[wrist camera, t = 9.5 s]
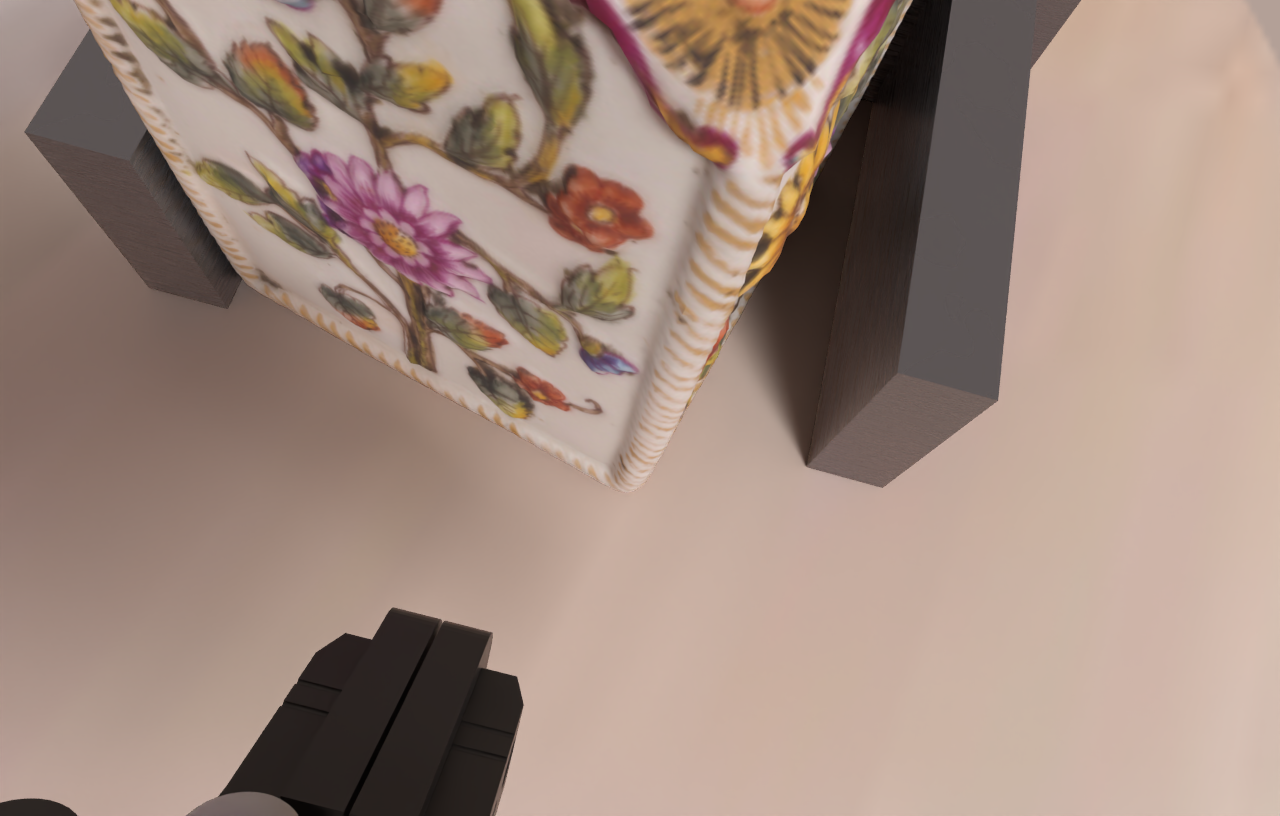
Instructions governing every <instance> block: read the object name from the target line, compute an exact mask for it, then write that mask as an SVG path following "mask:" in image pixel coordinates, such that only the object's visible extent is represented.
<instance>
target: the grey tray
mask: <svg viewBox="0 0 1280 816" xmlns="http://www.w3.org/2000/svg"><path fill="white" fill-rule="evenodd" d="M1080 1H1081V0H913V1H912V3H911V5H910V6H909V8H908V10H907V11H906V13H905V15H904V17H903V19H902V22H901V23H900V25H899V26H898V28H897V30H896V33H895V35H894V37H893V39H892V40H891V42H890V44H889V46H888V49H887V51H886V52H885V54H884V56H883V58H882V60H881V61H880V63H879V65H878V67H877V69H876V71H875V74H874V75H873V77H872V78H871V79H870V82H869V85H868V87H867V88H866V90H865V92H864V94H863V96H862V99H865V100H869V101H872V102H873V105H872V110H871V116H870V121H869V127H868V132H867V138H866V143H865V149H864V154H863V160H862V165H861V171H860V176H859V182H858V187H857V193H856V198H855V204H854V209H853V215H852V220H851V226H850V231H849V237H848V242H847V248H846V253H845V259H844V264H843V270H842V275H841V281H840V286H839V292H838V297H837V303H836V308H835V314H834V319H833V325H832V330H831V336H830V341H829V347H828V352H827V358H826V363H825V369H824V374H823V380H822V385H821V391H820V396H819V402H818V407H817V413H816V418H815V424H814V429H813V435H812V440H811V446H810V451H809V457H808V462H807V467H809V468H813V469H816V470H820V471H824V472H827V473H831V474H835V475H838V476H842V477H846V478H849V479H853V480H857V481H860V482H864V483H868V484H871V485H875V486H879V487H882V488H883V487H884V486H886V485H887V484H888V483H890V482H891V481H892V480H893V479H895V478H896V477H897V476H899V475H900V474H901V473H903V472H904V471H905V470H907V469H908V468H909V467H911V466H912V465H913V464H915V463H916V462H917V461H919V460H920V459H921V458H923V457H924V456H925V455H927V454H928V453H929V452H931V451H932V450H933V449H934V448H936V447H937V446H938V445H940V444H941V443H942V442H944V441H945V440H946V439H948V438H949V437H950V436H952V435H953V434H954V433H956V432H957V431H958V430H960V429H961V428H962V427H964V426H965V425H966V424H968V423H969V422H970V421H972V420H973V419H974V418H975V417H977V416H978V415H979V414H981V413H982V412H983V411H985V410H986V409H987V408H989V407H990V406H991V405H993V404H994V403H995V402H997V401H998V395H999V385H1000V375H1001V364H1002V354H1003V344H1004V334H1005V323H1006V313H1007V303H1008V293H1009V282H1010V272H1011V262H1012V252H1013V242H1014V231H1015V221H1016V211H1017V201H1018V190H1019V180H1020V170H1021V160H1022V149H1023V139H1024V129H1025V119H1026V109H1027V98H1028V88H1029V78H1030V69H1031V68H1032V67H1033V65H1034V64H1035V62H1036V61H1037V60H1038V58H1039V57H1040V56H1041V54H1042V53H1043V52H1044V50H1045V49H1046V47H1047V46H1048V45H1049V43H1050V42H1051V41H1052V39H1053V38H1054V37H1055V35H1056V34H1057V32H1058V31H1059V30H1060V28H1061V27H1062V26H1063V24H1064V23H1065V22H1066V20H1067V19H1068V17H1069V16H1070V15H1071V13H1072V12H1073V11H1074V9H1075V8H1076V7H1077V5H1078V4H1079V2H1080ZM25 133H26V135H27V136H28V137H29V138H30V140H31V141H32V142H33V143H34V144H35V146H36V147H37V148H38V149H39V151H40V152H41V153H42V154H43V156H44V157H45V158H46V159H47V161H48V162H49V163H50V164H51V166H52V167H53V168H54V169H55V171H56V172H57V173H58V174H59V176H60V177H61V178H62V179H63V181H64V182H65V183H66V184H67V186H68V187H69V188H70V189H71V191H72V192H73V193H74V194H75V196H76V197H77V198H78V199H79V201H80V202H81V203H82V204H83V206H84V207H85V208H86V209H87V211H88V212H89V213H90V214H91V216H92V217H93V218H94V219H95V221H96V222H97V223H98V224H99V226H100V227H101V228H102V229H103V231H104V232H105V233H106V234H107V236H108V237H109V238H110V239H111V241H112V242H113V243H114V244H115V245H116V247H117V248H118V249H119V250H120V252H121V253H122V254H123V255H124V257H125V258H126V259H127V260H128V262H129V263H130V264H131V265H132V267H133V268H134V269H135V270H136V272H137V273H138V274H139V275H140V277H141V278H142V279H143V280H144V282H145V283H146V284H147V285H148V287H150V288H154V289H157V290H161V291H165V292H168V293H172V294H176V295H179V296H183V297H186V298H190V299H194V300H197V301H201V302H205V303H208V304H212V305H216V306H219V307H223V308H228V306H229V304H230V302H231V300H232V298H233V296H234V294H235V292H236V290H237V288H238V286H239V283H240V281H241V279H242V278H241V276H240V275H239V274H238V273H236V271H235V269H234V268H233V267H232V265H231V264H230V261H229V260H228V259H227V257H226V255H225V254H224V253H223V252H222V250H221V248H220V246H219V245H218V243H217V242H216V240H215V238H214V237H213V236H212V235H211V234H210V232H209V230H208V228H207V226H206V225H205V224H204V222H203V220H202V218H201V217H200V216H199V215H198V212H197V209H196V208H195V207H194V205H193V204H192V202H191V200H190V198H189V197H188V196H187V195H186V194H185V192H184V190H183V188H182V186H181V185H180V183H179V181H178V180H177V179H176V177H175V175H174V172H173V171H172V170H171V168H170V167H169V165H168V163H167V161H166V159H165V158H164V157H163V155H162V153H161V151H160V149H159V148H158V146H157V145H156V143H155V141H154V139H153V137H152V136H151V134H150V133H149V131H148V130H147V128H146V126H145V125H144V123H143V121H142V120H141V118H140V116H139V114H138V112H137V111H136V109H135V108H134V106H133V104H132V102H131V100H130V99H129V97H128V95H127V94H126V92H125V91H124V89H123V86H122V83H121V82H120V80H119V79H118V78H117V76H116V75H115V74H114V71H113V67H112V64H111V63H110V62H109V61H108V60H107V59H106V58H105V56H104V54H103V52H102V49H101V48H100V46H99V44H98V43H97V41H96V40H95V38H94V36H93V34H92V32H91V29H89V31H88V33H87V34H86V36H85V37H84V39H83V41H82V42H81V44H80V45H79V47H78V48H77V50H76V52H75V53H74V55H73V56H72V58H71V59H70V61H69V63H68V64H67V66H66V67H65V69H64V70H63V72H62V74H61V75H60V77H59V78H58V80H57V81H56V83H55V85H54V86H53V88H52V89H51V91H50V93H49V94H48V96H47V97H46V99H45V100H44V102H43V104H42V105H41V107H40V108H39V110H38V111H37V113H36V115H35V116H34V118H33V119H32V121H31V122H30V124H29V126H28V127H27V129H26V130H25Z"/></svg>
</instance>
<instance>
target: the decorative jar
mask: <svg viewBox="0 0 1280 816" xmlns="http://www.w3.org/2000/svg"><path fill="white" fill-rule="evenodd" d="M74 1H75V3H76V5H77V7H78V9H79V11H80V13H81V15H82V17H83V19H84V20H85V22H86V23H87V25H88V26H89V28H90V29H91V32H92V34H93V36H94V38H95V40H96V41H97V43H98V44H99V46H100V48H101V49H102V52H103V54H104V56H105V58H106V59H107V60H108V61H109V62H110V63H111V64H112V67H113V71H114V74H115V75H116V76H117V78H118V79H119V80H120V82H121V83H122V86H123V89H124V91H125V92H126V94H127V95H128V97H129V99H130V100H131V102H132V104H133V106H134V108H135V109H136V111H137V112H138V114H139V116H140V118H141V120H142V121H143V123H144V125H145V126H146V128H147V130H148V131H149V133H150V134H151V136H152V137H153V139H154V141H155V143H156V145H157V146H158V148H159V149H160V151H161V153H162V155H163V157H164V158H165V159H166V161H167V163H168V165H169V167H170V168H171V170H172V171H173V172H174V175H175V177H176V179H177V180H178V181H179V183H180V185H181V186H182V188H183V190H184V192H185V194H186V195H187V196H188V197H189V198H190V200H191V202H192V204H193V205H194V207H195V208H196V209H197V212H198V215H199V216H200V217H201V218H202V220H203V222H204V224H205V225H206V226H207V228H208V230H209V232H210V234H211V235H212V236H213V237H214V238H215V240H216V242H217V243H218V245H219V246H220V248H221V250H222V252H223V253H224V254H225V255H226V257H227V259H228V260H229V261H230V264H231V265H232V267H233V268H234V269H235V271H236V273H238V274H239V275H240V276H241V278H242V279H243V280H244V281H245V283H246V284H247V285H248V286H250V287H252V288H253V289H255V290H256V291H257V292H259V293H260V294H262V295H264V296H265V297H268V298H271V299H272V300H273V301H274V302H276V303H277V304H279V305H281V306H284V307H286V308H288V309H290V310H291V311H293V312H294V313H295V314H297V315H299V316H301V317H303V318H305V319H306V320H308V321H310V322H311V323H313V324H314V325H316V326H318V327H320V328H321V329H323V330H325V331H327V332H328V333H330V334H331V335H333V336H335V337H337V338H339V339H340V340H342V341H344V342H346V343H347V344H349V345H351V346H353V347H355V348H357V349H358V350H360V351H361V352H363V353H365V354H366V355H368V356H370V357H372V358H374V359H376V360H378V361H380V362H382V363H384V364H386V365H387V366H389V367H391V368H393V369H395V370H396V371H398V372H400V373H402V374H404V375H406V376H407V377H409V378H411V379H413V380H415V381H417V382H419V383H421V384H423V385H424V386H426V387H428V388H430V389H432V390H434V391H435V392H437V393H438V394H440V395H442V396H444V397H446V398H448V399H450V400H452V401H453V402H455V403H457V404H459V405H461V406H463V407H465V408H467V409H469V410H470V411H472V412H474V413H476V414H478V415H480V416H482V417H484V418H485V419H487V420H489V421H491V422H493V423H495V424H497V425H499V426H501V427H503V428H505V429H506V430H508V431H510V432H512V433H514V434H516V435H517V436H519V437H520V438H522V439H524V440H526V441H528V442H530V443H532V444H533V445H535V446H537V447H538V448H540V449H542V450H543V451H545V452H547V453H548V454H550V455H552V456H554V457H555V458H557V459H559V460H561V461H563V462H565V463H567V464H569V465H571V466H572V467H574V468H576V469H577V470H579V471H581V472H582V473H584V474H586V475H588V476H589V477H591V478H593V479H595V480H596V481H598V482H600V483H602V484H604V485H606V486H608V487H610V488H612V489H614V490H617V491H620V492H626V493H628V492H633V491H635V490H636V489H638V488H639V487H641V486H642V485H644V483H646V482H647V480H648V478H649V477H650V475H651V473H652V471H653V469H654V468H655V466H656V464H657V462H658V460H659V458H660V457H661V456H662V455H663V452H664V450H665V448H666V446H667V445H668V443H669V441H670V439H671V436H672V435H673V433H674V432H675V430H676V428H677V426H678V424H679V423H680V421H681V419H682V417H683V415H684V413H685V411H686V409H687V407H688V406H689V405H690V403H691V401H692V399H693V397H694V396H695V394H696V392H697V390H698V389H699V388H700V386H701V385H702V383H703V381H704V379H705V377H706V376H707V375H708V373H709V371H710V368H711V367H712V365H713V364H714V362H715V359H716V358H717V357H718V355H719V351H720V350H721V348H722V346H723V345H724V343H725V341H726V339H727V338H728V336H729V335H730V333H731V331H732V329H733V327H734V325H735V324H736V323H737V321H738V319H739V317H740V316H741V314H742V312H743V311H744V309H745V307H746V304H747V302H748V300H749V299H750V297H751V296H752V294H753V292H754V290H755V288H756V287H757V285H758V284H759V281H760V280H761V278H762V277H763V276H764V275H766V274H767V273H769V272H770V271H771V269H772V268H773V266H774V264H775V263H776V261H777V259H778V258H779V256H780V254H781V252H782V248H783V245H784V243H785V240H786V238H787V236H788V235H790V234H791V233H792V232H793V231H795V230H796V229H797V227H798V226H799V224H800V222H801V220H802V218H803V217H804V215H805V213H806V209H807V206H808V204H809V197H810V193H811V190H812V186H813V185H814V183H815V182H816V180H817V178H818V177H819V175H820V173H821V172H822V170H823V169H824V166H825V163H826V162H827V160H828V158H829V157H830V155H831V153H832V152H833V150H834V147H835V145H836V144H837V142H838V140H839V139H840V137H841V135H842V133H843V130H844V128H845V127H846V125H847V123H848V121H849V119H850V118H851V116H852V114H853V112H854V111H855V109H856V107H857V106H858V104H859V102H860V100H861V98H862V96H863V94H864V92H865V90H866V88H867V87H868V85H869V82H870V79H871V78H872V77H873V75H874V74H875V71H876V69H877V67H878V65H879V63H880V61H881V60H882V58H883V56H884V54H885V52H886V51H887V49H888V46H889V44H890V42H891V40H892V39H893V37H894V35H895V33H896V30H897V28H898V26H899V25H900V23H901V22H902V19H903V17H904V15H905V13H906V11H907V10H908V8H909V6H910V5H911V3H912V1H913V0H74Z"/></svg>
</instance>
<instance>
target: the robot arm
mask: <svg viewBox="0 0 1280 816" xmlns="http://www.w3.org/2000/svg"><path fill="white" fill-rule="evenodd" d="M492 638H493V633H492V632H488V631H484V630H480V629H476V628H472V627H468V626H464V625H460V624H456V623H452V622H448V621H444V622H443V623H442V620H441V619H437V618H433V617H429V616H425V615H421V614H417V613H413V612H409V611H406V610H402V609H398V608H392V609H391V610H390V611H389V612H388V614H387V615H386V617H385V619H384V621H383V622H382V624H381V626H380V627H379V629H378V631H377V632H376V634H375V636H374V637H373V639H372V640H371V639H367V638H363V637H359V636H355V635H351V634H347V633H345V634H344V635H342V636H340V637H339V638H337V639H336V640H334V641H333V642H331V643H330V644H328V645H327V646H325V647H324V648H322V649H321V650H319V651H318V652H316V653H315V655H314V656H313V658H312V659H311V661H310V662H309V664H308V665H307V667H306V668H305V670H304V671H303V673H302V674H301V676H300V677H299V679H298V682H297V684H295V685H294V686H293V688H292V689H291V691H290V692H289V694H288V695H287V697H286V698H285V700H284V702H283V705H282V706H280V707H279V709H278V710H277V712H276V713H275V715H274V716H273V718H272V719H271V720H270V722H269V723H268V725H267V726H266V728H265V729H264V731H263V732H262V734H261V735H260V737H259V738H258V740H257V741H256V743H255V744H254V746H253V747H252V749H251V750H250V752H249V753H248V755H247V756H246V758H245V759H244V761H243V762H242V764H241V765H240V767H239V768H238V770H237V771H236V773H235V774H234V776H233V777H232V779H231V780H230V782H229V783H228V785H227V786H226V788H225V789H224V790H223V791H222V793H221V794H220V795H219V796H218V797H216V798H214V799H212V800H209V801H207V802H205V803H203V804H202V805H200V806H198V807H197V808H195V809H194V810H193V811H191V812H190V813H189V814H188V815H187V816H495V815H496V812H497V809H498V805H499V802H500V798H501V795H502V792H503V788H504V785H505V781H506V777H507V773H508V769H509V765H510V760H511V756H512V752H513V748H514V743H515V739H516V735H517V731H518V727H519V722H520V718H521V714H522V710H523V706H524V705H523V700H522V696H521V692H520V687H519V683H518V679H517V677H516V676H512V675H508V674H504V673H500V672H496V671H492V670H488V669H486V667H487V663H488V658H489V653H490V649H491V644H492ZM0 816H77V815H76V813H74V812H73V811H72V810H71V809H70V808H68V807H66V806H64V805H62V804H60V803H57V802H54V801H51V800H44V799H18V800H11V801H6V802H2V803H0Z"/></svg>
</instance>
